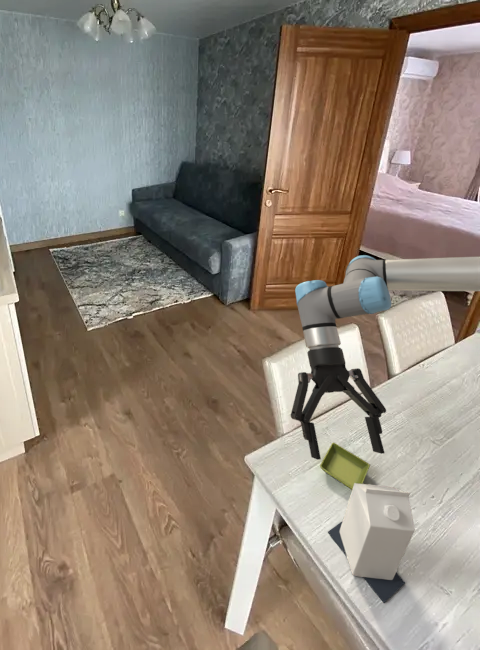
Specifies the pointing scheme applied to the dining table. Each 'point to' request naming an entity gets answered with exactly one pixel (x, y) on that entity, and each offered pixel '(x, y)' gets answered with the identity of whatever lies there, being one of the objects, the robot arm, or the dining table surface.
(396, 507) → the milk carton
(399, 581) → the edge strip
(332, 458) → the green rectangular tray
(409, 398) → the dining table surface
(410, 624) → the dining table surface
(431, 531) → the dining table surface
